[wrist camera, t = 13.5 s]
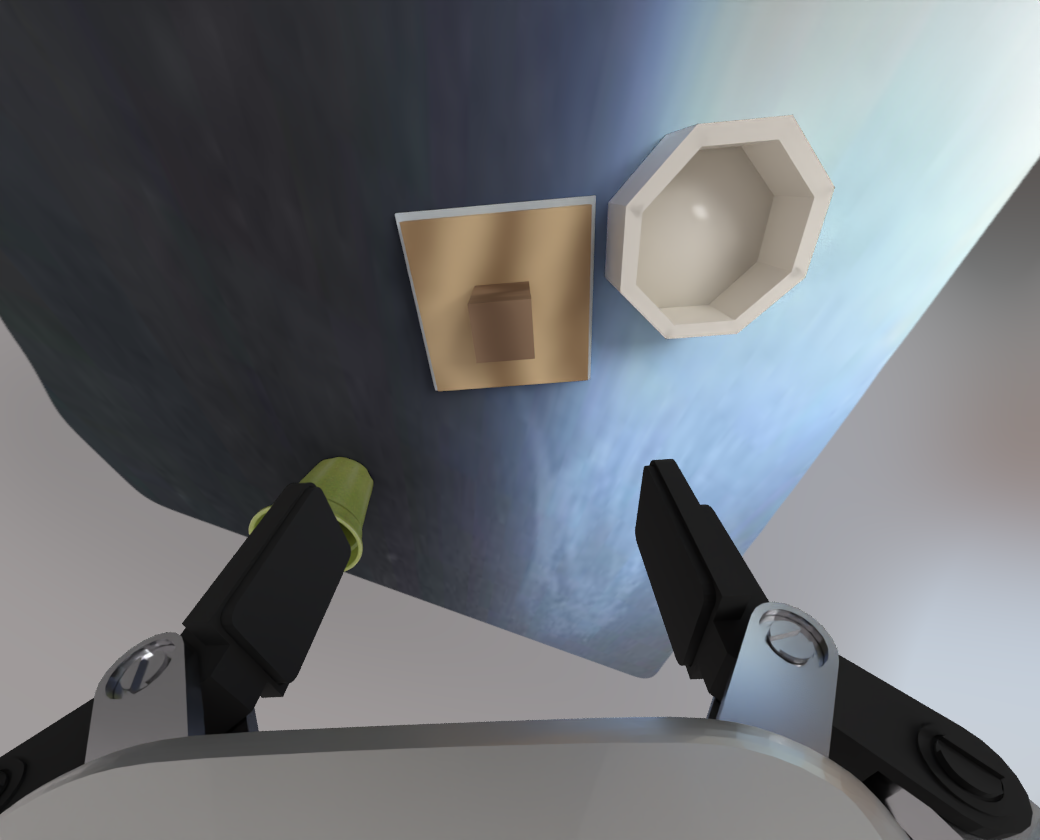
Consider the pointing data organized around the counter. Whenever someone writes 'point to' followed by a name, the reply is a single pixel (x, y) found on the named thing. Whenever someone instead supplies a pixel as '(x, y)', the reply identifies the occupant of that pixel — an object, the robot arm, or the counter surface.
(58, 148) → the counter surface
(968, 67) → the counter surface
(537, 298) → the lid
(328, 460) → the plant pot
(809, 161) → the bowl
